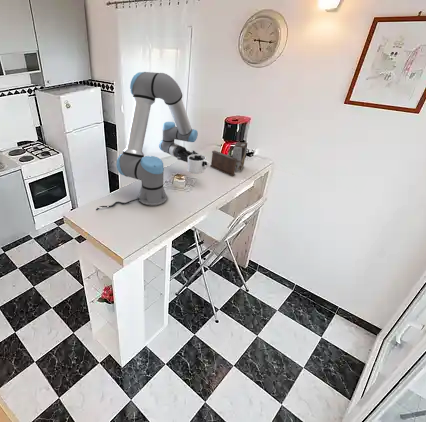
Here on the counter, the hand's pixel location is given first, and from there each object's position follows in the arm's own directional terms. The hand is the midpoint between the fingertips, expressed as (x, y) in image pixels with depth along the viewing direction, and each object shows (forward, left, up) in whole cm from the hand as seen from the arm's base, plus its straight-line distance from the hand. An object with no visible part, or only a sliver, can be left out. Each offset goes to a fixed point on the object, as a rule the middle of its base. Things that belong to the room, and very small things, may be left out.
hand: (205, 163), depth 163 cm
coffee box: (+28, +18, -14) cm, 37 cm away
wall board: (+18, +17, -14) cm, 29 cm away
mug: (-3, +4, -6) cm, 8 cm away
